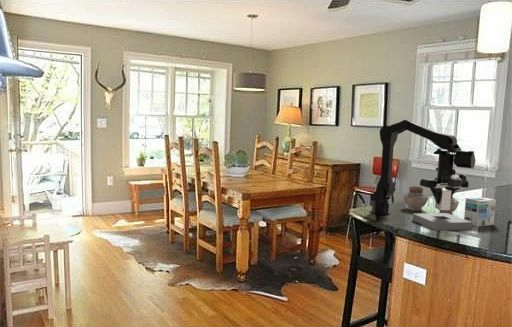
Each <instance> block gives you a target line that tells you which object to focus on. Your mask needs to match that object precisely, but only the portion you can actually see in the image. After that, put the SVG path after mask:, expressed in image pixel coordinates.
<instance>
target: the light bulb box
mask: <svg viewBox="0 0 512 327" xmlns="http://www.w3.org/2000/svg"><path fill="white" fill-rule="evenodd" d="M496 203H497V200H496V199H495V198H494V199H493V198H488V197H484V196H478V197H466V198H465V202H464V204H465V205H464V213H463V214H464V216H463V219H465V220H468V221H470V222H472V227H485V226H493V225H494V224H495V223H494V222H495V212H496Z"/></svg>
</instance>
